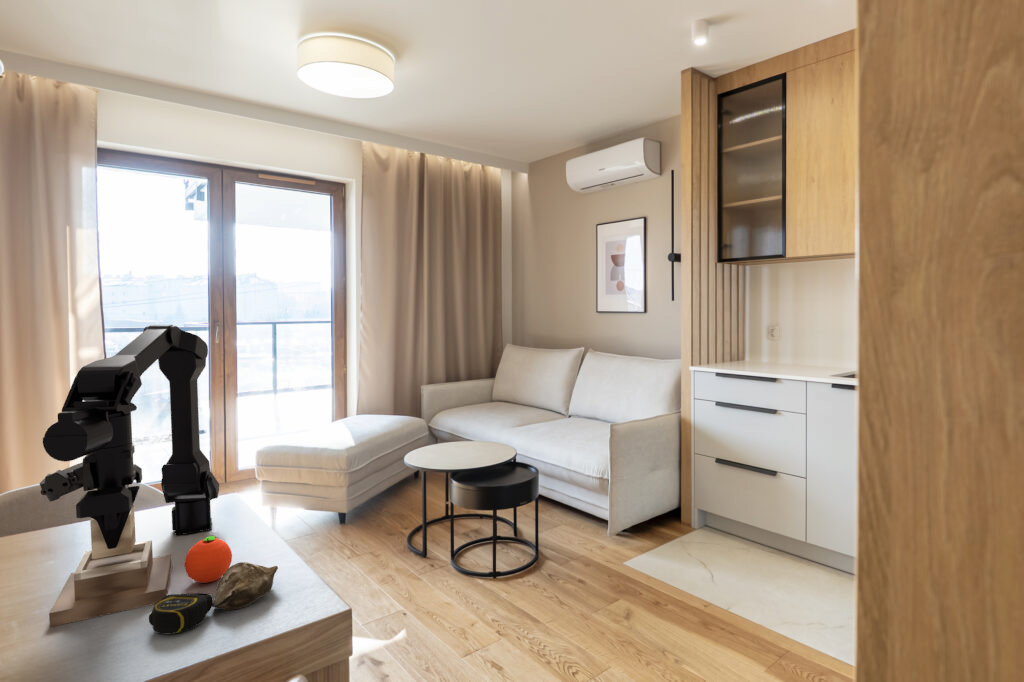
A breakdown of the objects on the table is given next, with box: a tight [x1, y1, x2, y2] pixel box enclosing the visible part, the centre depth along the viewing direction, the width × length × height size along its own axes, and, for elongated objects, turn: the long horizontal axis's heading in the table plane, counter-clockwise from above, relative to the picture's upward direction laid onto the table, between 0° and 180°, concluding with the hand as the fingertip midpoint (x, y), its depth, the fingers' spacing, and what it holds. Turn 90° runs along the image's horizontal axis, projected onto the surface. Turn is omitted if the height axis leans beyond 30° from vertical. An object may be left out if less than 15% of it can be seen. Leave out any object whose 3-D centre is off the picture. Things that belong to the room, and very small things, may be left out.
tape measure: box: [148, 592, 214, 635], centre depth 79 cm, size 7×7×4 cm
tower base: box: [48, 539, 172, 628], centre depth 88 cm, size 14×14×6 cm
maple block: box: [89, 504, 136, 559], centre depth 88 cm, size 5×5×6 cm
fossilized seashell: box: [212, 562, 279, 611], centre depth 86 cm, size 8×7×10 cm
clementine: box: [183, 535, 233, 584], centre depth 92 cm, size 8×7×7 cm
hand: (114, 542), depth 88 cm, fingers closed on maple block, 5 cm apart
